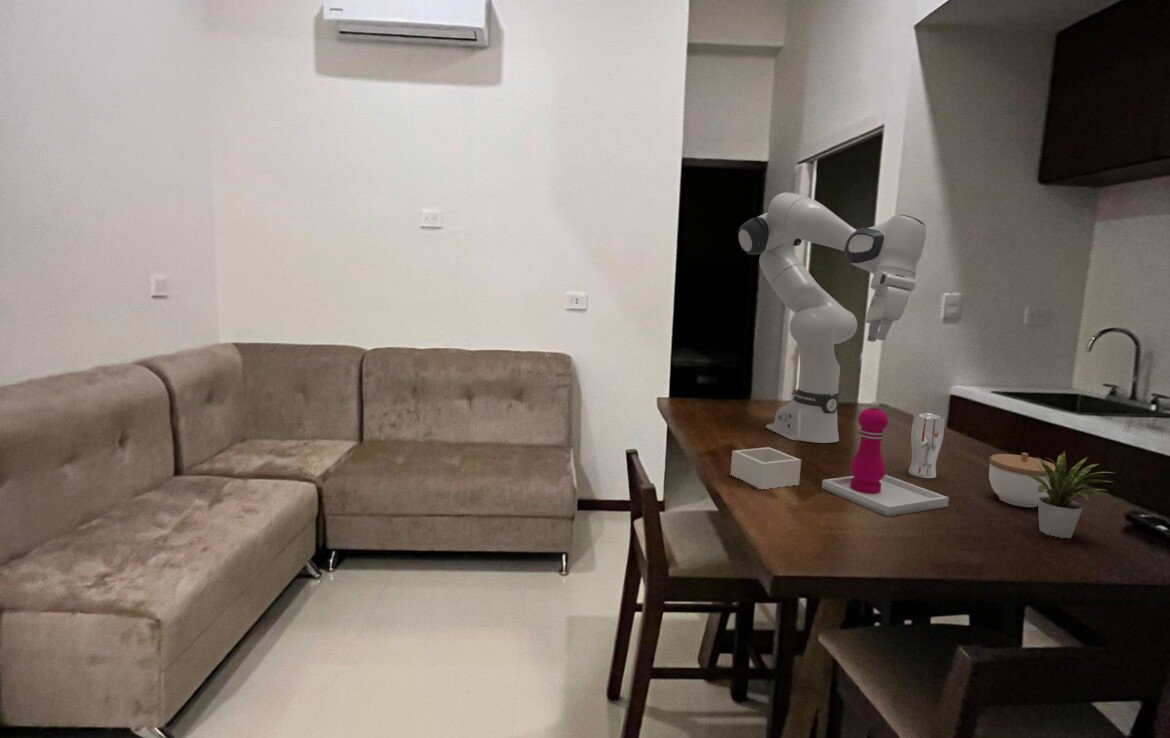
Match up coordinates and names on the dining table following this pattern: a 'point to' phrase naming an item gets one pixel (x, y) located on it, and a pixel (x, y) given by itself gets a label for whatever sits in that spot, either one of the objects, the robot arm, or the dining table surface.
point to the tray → (888, 496)
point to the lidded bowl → (1017, 478)
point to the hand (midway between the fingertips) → (875, 340)
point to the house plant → (1063, 497)
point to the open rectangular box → (765, 468)
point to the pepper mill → (869, 451)
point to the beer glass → (926, 444)
